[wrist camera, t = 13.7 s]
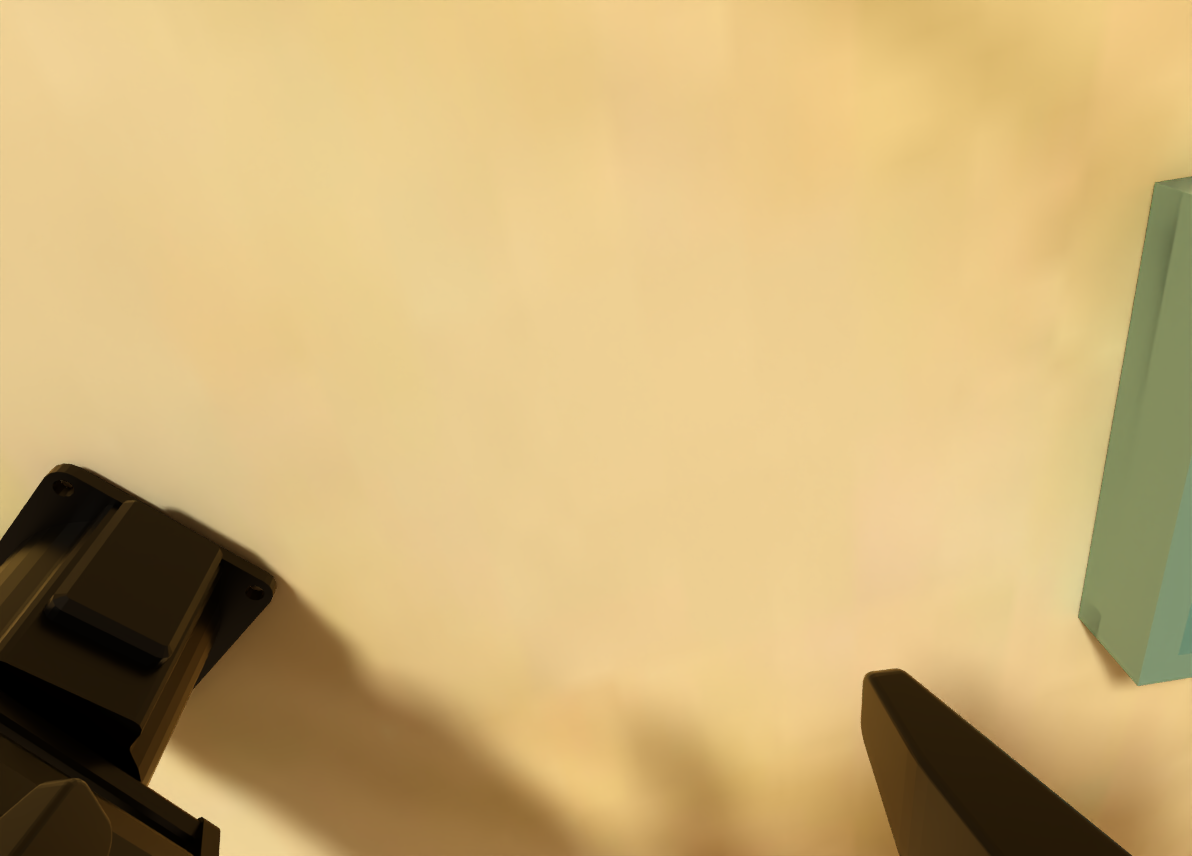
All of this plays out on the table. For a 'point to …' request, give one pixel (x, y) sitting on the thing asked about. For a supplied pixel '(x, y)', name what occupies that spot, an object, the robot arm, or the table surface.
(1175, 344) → the tray
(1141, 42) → the table surface
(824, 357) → the table surface
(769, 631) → the table surface
